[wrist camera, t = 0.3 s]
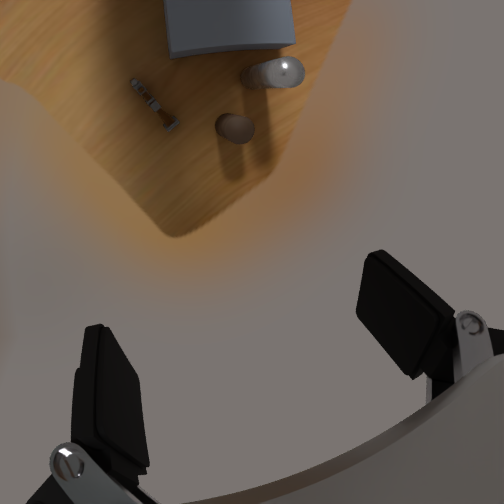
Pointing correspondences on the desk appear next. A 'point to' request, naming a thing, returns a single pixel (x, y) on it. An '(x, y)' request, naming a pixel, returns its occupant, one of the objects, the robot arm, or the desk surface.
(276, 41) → the hole block
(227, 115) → the short pin
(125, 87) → the desk surface
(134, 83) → the wooden post with brackets
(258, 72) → the long pin
